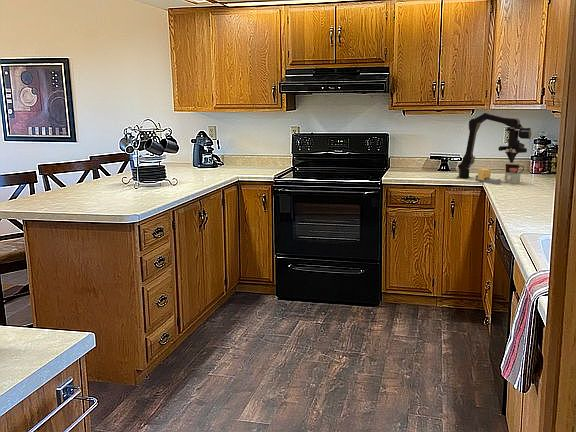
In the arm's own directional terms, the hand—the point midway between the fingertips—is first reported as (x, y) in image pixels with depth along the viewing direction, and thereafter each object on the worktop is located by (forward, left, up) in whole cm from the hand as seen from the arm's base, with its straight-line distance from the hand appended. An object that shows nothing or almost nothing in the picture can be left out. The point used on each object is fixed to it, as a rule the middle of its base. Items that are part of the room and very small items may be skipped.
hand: (511, 162), depth 378 cm
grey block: (+1, +1, -13) cm, 13 cm away
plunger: (+1, +1, -10) cm, 10 cm away
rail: (-6, -13, -13) cm, 19 cm away
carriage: (-10, -13, -11) cm, 20 cm away
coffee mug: (-11, +15, -13) cm, 23 cm away
